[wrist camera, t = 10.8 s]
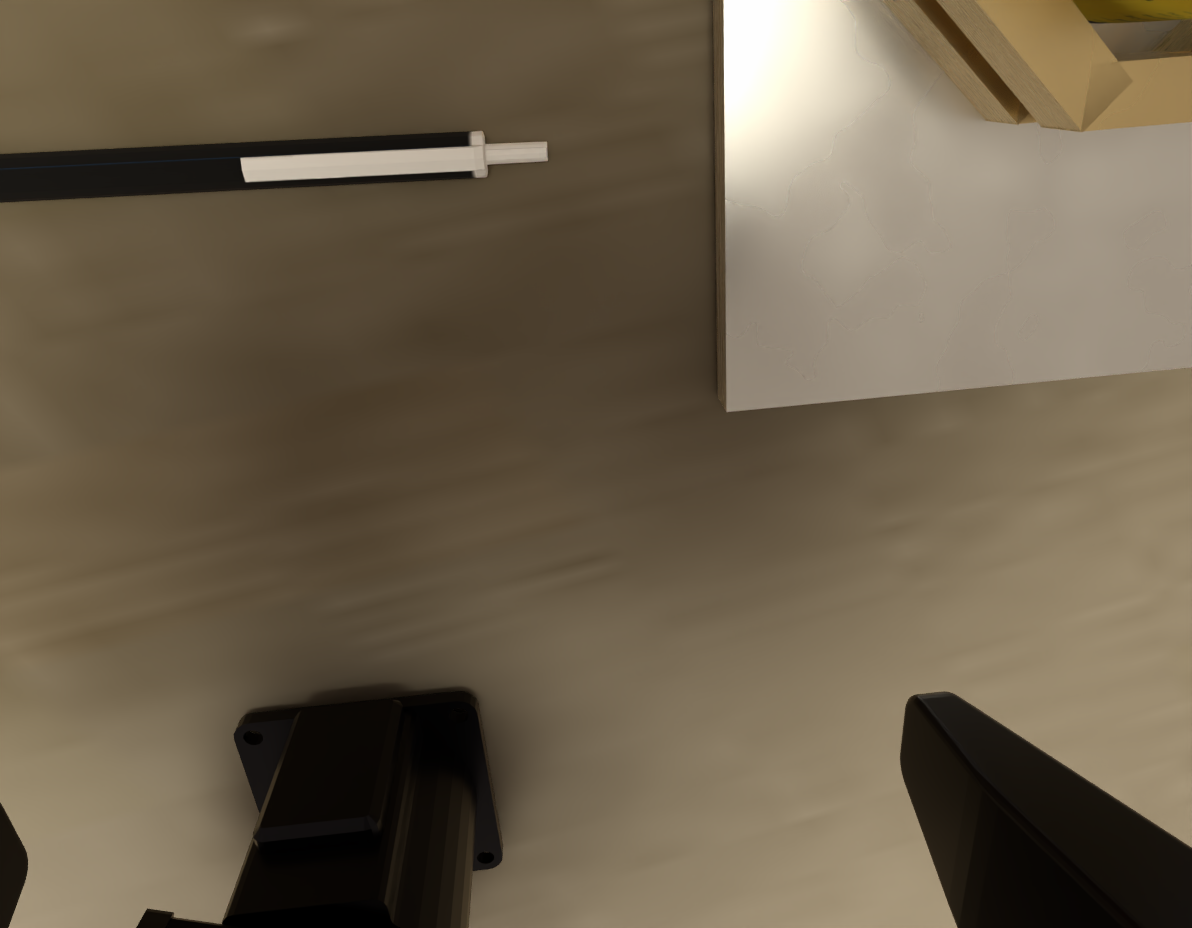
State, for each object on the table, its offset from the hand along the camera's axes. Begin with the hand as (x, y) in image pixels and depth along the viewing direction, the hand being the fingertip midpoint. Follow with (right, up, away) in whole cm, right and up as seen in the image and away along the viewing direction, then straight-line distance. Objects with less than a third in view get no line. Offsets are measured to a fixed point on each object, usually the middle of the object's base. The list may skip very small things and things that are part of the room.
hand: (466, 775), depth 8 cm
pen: (-9, +9, +9) cm, 16 cm away
